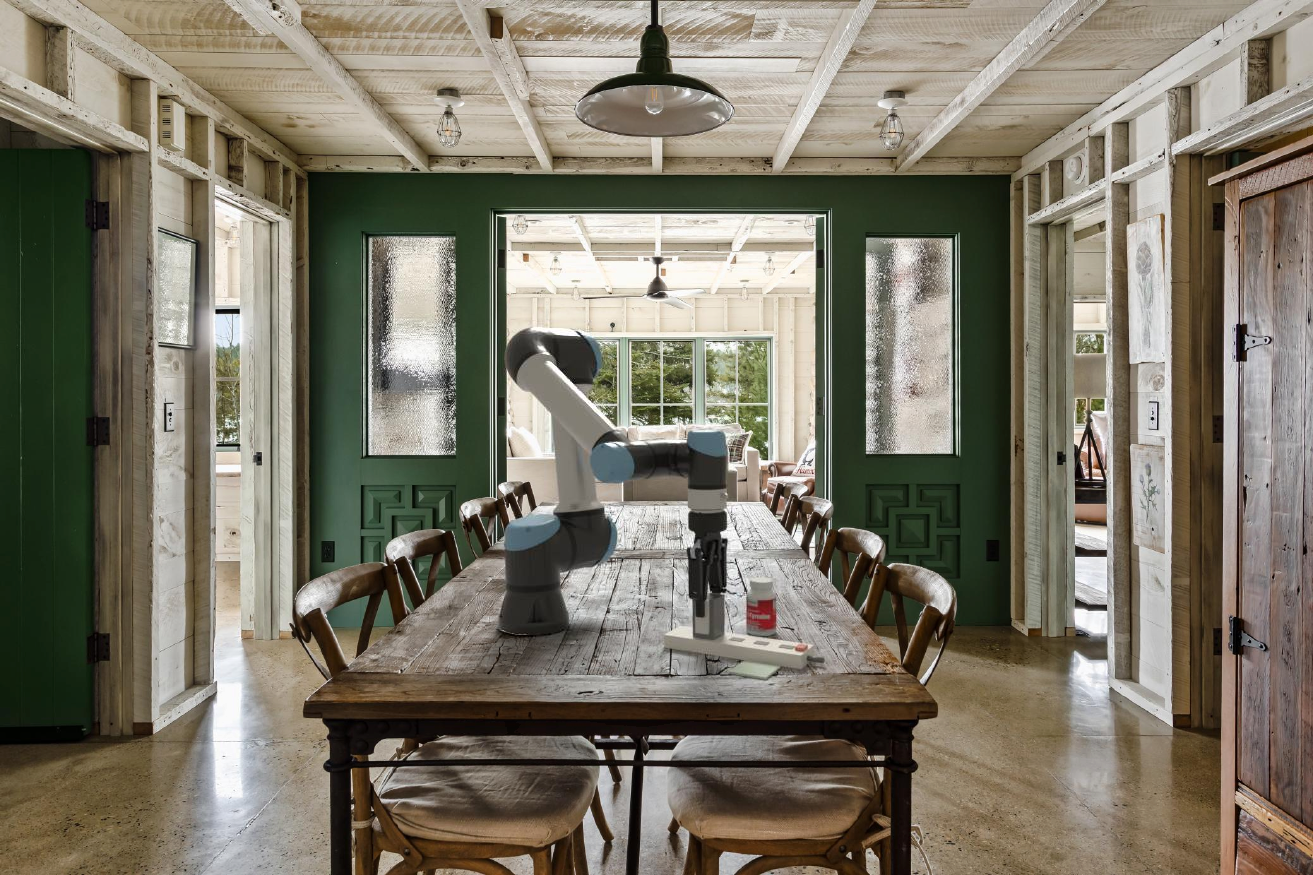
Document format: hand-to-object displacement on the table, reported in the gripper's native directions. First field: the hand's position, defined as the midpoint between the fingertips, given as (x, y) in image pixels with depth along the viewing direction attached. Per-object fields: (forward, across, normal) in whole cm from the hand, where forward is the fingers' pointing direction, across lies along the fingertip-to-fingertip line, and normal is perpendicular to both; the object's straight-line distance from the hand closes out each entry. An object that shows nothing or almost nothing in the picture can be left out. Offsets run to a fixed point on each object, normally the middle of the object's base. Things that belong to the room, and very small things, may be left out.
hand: (708, 629), depth 159 cm
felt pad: (+4, -8, -13) cm, 16 cm away
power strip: (+4, 0, -7) cm, 8 cm away
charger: (+3, 0, 0) cm, 3 cm away
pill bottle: (+4, +14, -5) cm, 16 cm away
